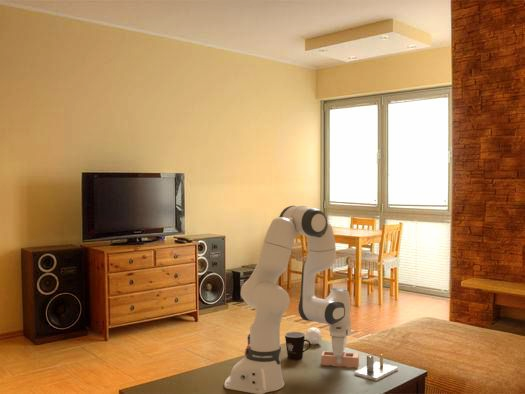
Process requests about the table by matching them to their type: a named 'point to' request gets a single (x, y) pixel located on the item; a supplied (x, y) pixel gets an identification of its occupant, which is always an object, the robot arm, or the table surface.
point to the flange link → (347, 359)
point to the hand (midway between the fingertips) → (340, 360)
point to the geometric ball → (313, 335)
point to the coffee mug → (295, 345)
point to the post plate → (375, 369)
